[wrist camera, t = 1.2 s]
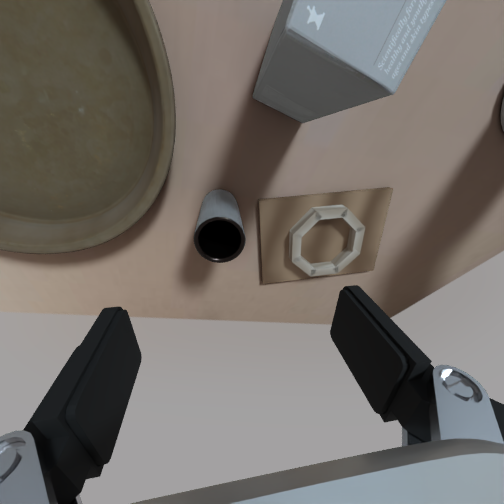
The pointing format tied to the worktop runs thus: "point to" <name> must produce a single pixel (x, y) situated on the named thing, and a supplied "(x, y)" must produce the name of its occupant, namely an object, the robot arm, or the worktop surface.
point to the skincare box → (340, 53)
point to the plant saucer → (80, 121)
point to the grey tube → (219, 228)
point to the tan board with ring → (321, 233)
